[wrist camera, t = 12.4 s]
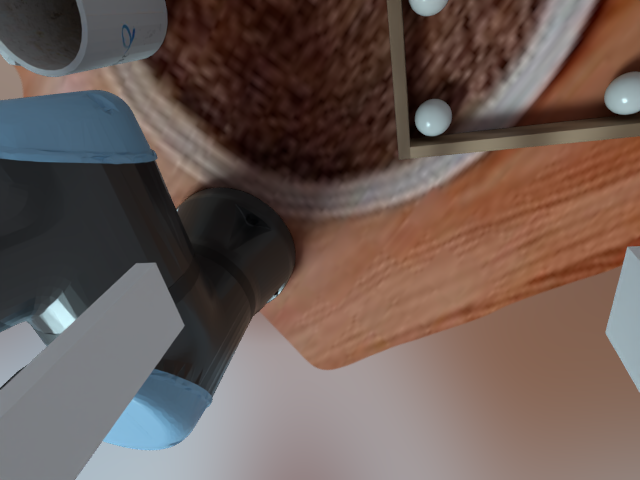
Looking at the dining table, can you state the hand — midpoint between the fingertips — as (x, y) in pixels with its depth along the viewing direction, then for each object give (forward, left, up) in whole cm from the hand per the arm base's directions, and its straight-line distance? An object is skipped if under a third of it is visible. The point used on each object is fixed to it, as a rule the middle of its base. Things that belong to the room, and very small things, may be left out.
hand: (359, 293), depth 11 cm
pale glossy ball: (+3, -1, -27) cm, 27 cm away
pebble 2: (+17, -1, -27) cm, 32 cm away
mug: (-25, +11, -27) cm, 38 cm away
